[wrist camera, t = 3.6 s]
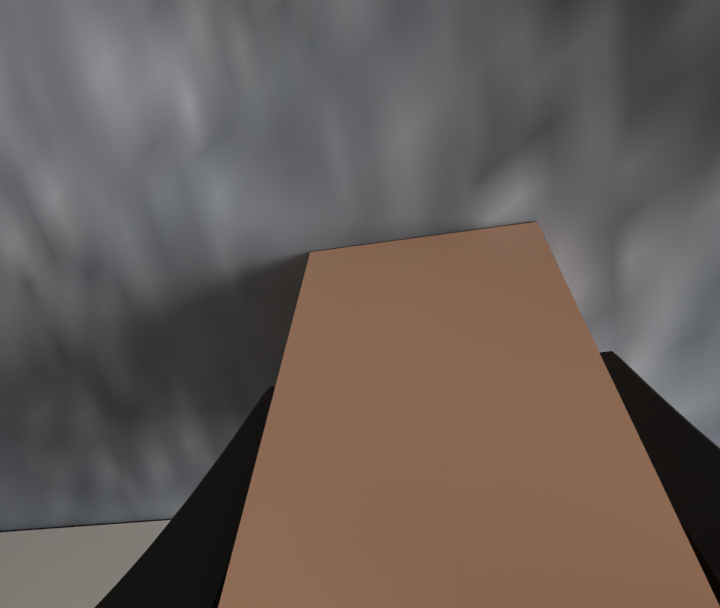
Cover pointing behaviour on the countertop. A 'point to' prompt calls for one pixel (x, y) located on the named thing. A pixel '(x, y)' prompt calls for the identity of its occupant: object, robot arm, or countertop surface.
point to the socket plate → (69, 563)
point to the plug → (452, 445)
